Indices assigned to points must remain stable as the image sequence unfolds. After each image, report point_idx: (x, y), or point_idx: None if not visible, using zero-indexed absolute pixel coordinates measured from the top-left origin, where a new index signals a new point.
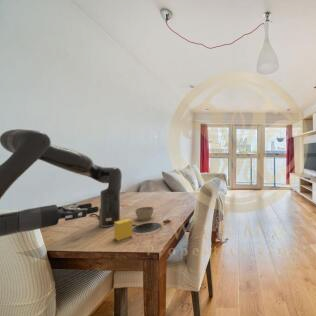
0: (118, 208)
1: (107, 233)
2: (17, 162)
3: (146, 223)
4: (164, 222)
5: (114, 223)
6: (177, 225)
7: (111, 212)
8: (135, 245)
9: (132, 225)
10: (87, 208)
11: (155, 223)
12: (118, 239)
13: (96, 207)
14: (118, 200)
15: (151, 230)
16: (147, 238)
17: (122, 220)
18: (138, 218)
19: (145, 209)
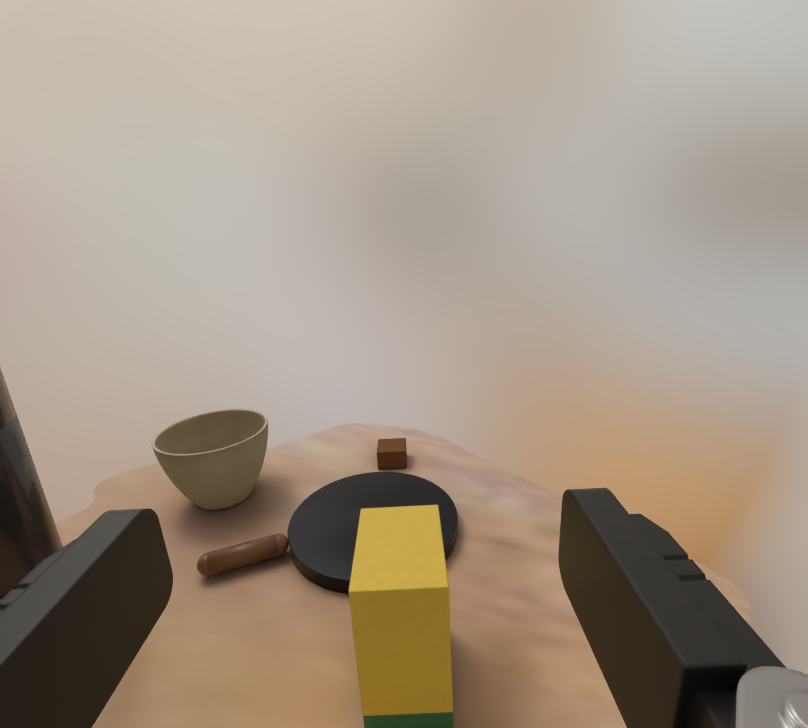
0: (40, 485)
1: (138, 721)
2: None
3: (309, 501)
4: (391, 457)
5: (357, 603)
6: (453, 447)
7: (9, 540)
8: (582, 652)
9: (257, 551)
10: (713, 646)
11: (358, 479)
12: (451, 702)
13: (613, 508)
14: (18, 420)
15: (443, 518)
16: (512, 568)
17: (374, 541)
18: (205, 497)
19: (187, 435)
